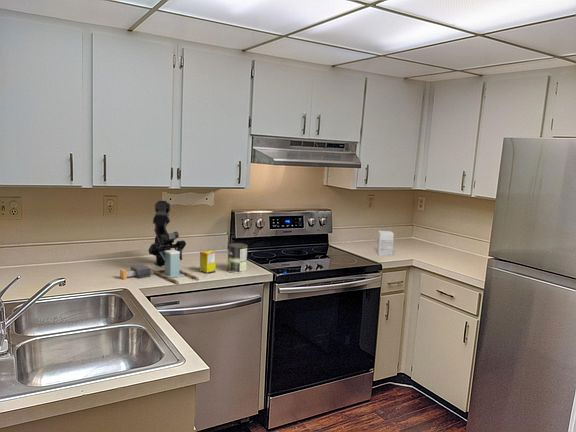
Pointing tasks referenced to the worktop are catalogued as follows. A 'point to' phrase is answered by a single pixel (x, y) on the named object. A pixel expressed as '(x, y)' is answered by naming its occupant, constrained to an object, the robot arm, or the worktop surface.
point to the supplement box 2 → (385, 243)
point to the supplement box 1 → (207, 261)
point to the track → (170, 278)
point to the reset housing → (141, 271)
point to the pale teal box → (172, 262)
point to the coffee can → (237, 257)
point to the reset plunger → (126, 273)
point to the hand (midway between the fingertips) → (173, 261)
